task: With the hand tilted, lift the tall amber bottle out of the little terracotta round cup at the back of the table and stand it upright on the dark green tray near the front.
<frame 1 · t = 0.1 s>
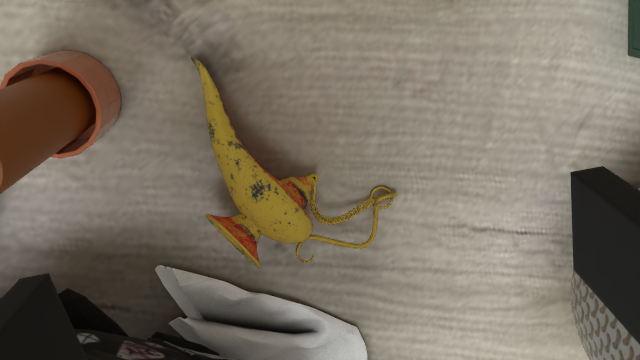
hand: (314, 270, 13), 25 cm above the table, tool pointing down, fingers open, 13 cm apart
bottle: (70, 98, 36), point 1 cm above the table, touching terracotta round cup
magic lamp: (212, 226, 35), point 5 cm above the table
terracotta round cup: (75, 96, 37), on the table
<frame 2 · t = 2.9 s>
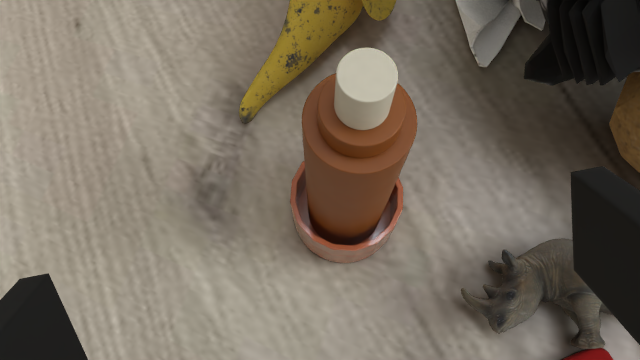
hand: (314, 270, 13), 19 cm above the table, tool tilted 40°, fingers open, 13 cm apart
bottle: (344, 210, 33), point 1 cm above the table, touching terracotta round cup
rhino figurine: (591, 351, 29), point 2 cm above the table
magic lamp: (375, 0, 33), point 5 cm above the table
terracotta round cup: (343, 213, 33), on the table
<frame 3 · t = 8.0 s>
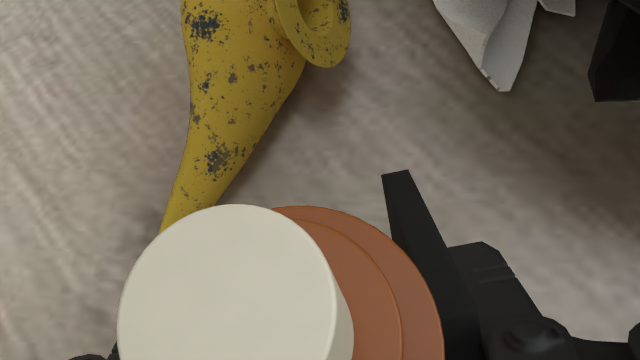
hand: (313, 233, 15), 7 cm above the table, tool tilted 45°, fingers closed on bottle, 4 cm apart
magic lamp: (316, 39, 21), point 5 cm above the table
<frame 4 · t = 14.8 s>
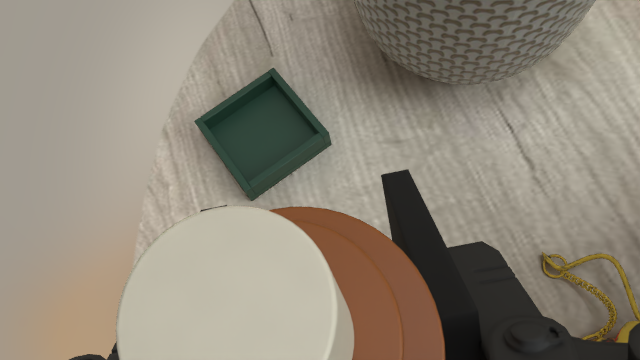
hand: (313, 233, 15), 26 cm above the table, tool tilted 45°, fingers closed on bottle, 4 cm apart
planter: (457, 32, 48), on the table
tray: (265, 138, 46), on the table
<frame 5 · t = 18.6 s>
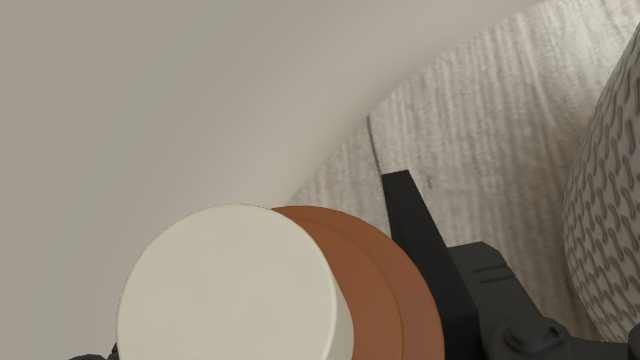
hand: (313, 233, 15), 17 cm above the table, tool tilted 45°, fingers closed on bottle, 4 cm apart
when the fingers open (7 cm above the table, at t = 21.6 s): bottle stays where it is, resting on tray.
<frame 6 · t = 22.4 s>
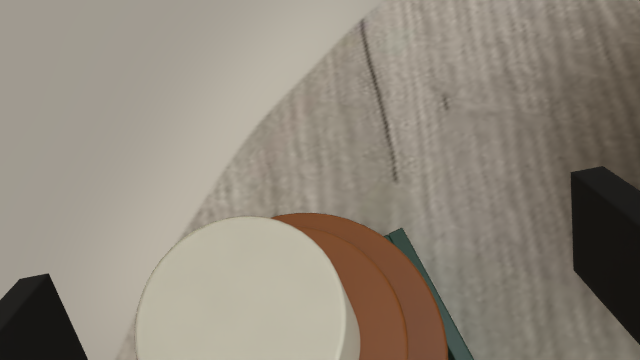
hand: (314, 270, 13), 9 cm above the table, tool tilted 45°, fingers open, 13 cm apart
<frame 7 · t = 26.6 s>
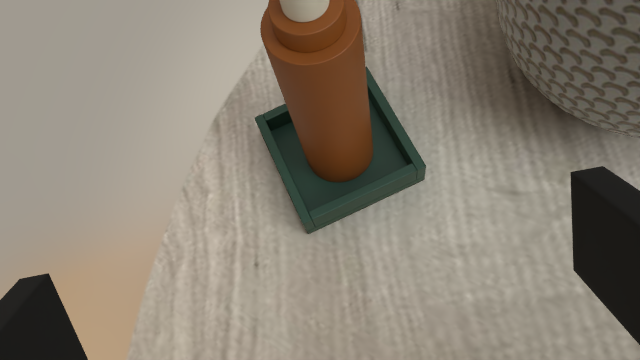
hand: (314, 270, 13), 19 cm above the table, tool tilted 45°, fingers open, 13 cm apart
planter: (617, 60, 36), on the table
bottle: (339, 151, 35), point 1 cm above the table, touching tray
tray: (339, 155, 36), on the table
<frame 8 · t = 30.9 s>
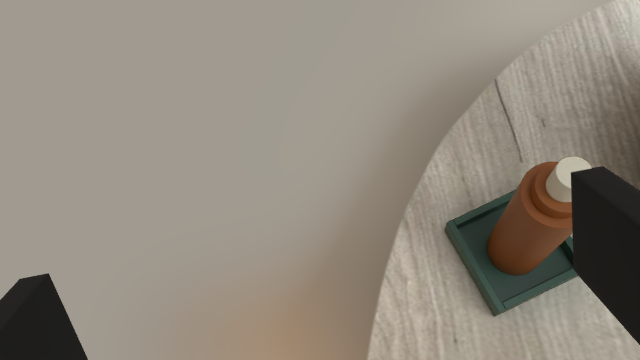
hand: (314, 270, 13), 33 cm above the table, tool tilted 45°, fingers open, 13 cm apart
bottle: (513, 249, 45), point 1 cm above the table, touching tray
tray: (511, 250, 45), on the table
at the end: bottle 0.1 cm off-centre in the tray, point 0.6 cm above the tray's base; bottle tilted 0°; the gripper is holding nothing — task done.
